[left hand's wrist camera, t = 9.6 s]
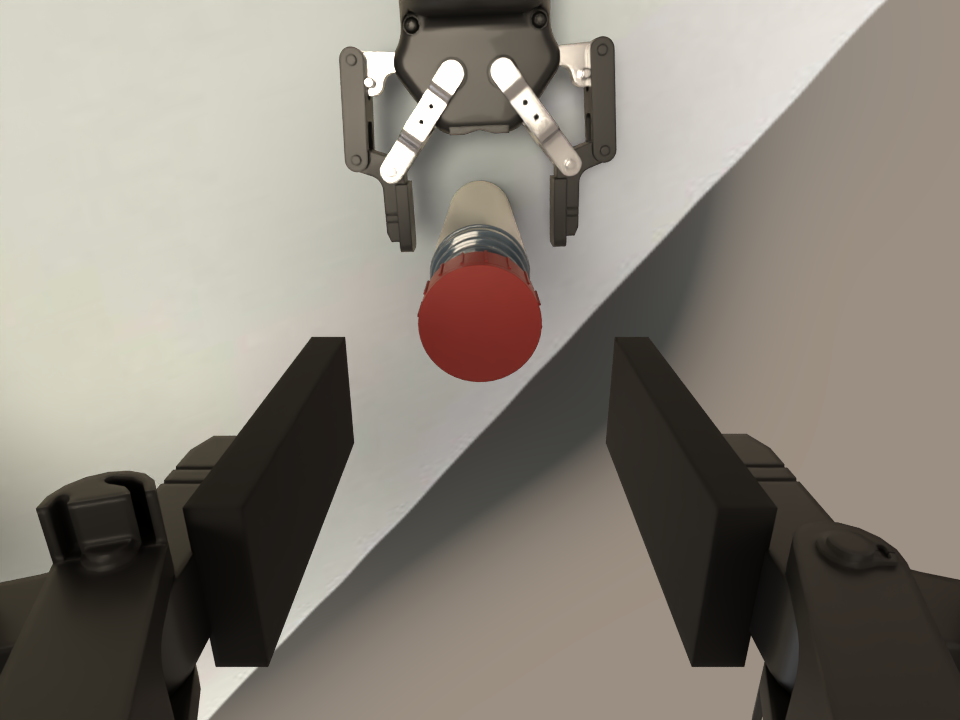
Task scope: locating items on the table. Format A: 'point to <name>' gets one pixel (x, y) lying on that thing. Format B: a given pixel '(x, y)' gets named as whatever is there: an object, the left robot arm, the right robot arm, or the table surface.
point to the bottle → (479, 226)
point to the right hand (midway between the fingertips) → (483, 246)
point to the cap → (480, 317)
